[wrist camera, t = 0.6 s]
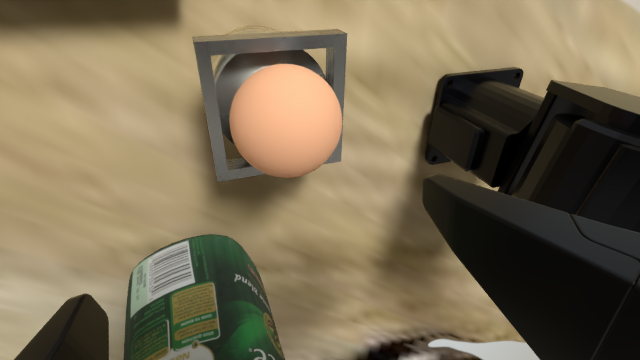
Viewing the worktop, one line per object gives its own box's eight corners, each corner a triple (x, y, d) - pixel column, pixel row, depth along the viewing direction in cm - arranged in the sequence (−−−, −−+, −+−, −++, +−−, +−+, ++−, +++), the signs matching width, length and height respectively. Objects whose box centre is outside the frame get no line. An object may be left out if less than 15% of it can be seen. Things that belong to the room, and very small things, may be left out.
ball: (320, 48, 15) (365, 77, 12) (319, 141, 18) (356, 187, 14) (215, 55, 14) (230, 90, 10) (230, 154, 16) (246, 209, 13)
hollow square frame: (308, 16, 18) (347, 33, 14) (309, 122, 21) (340, 161, 17) (188, 20, 16) (193, 41, 12) (208, 135, 20) (218, 182, 16)
